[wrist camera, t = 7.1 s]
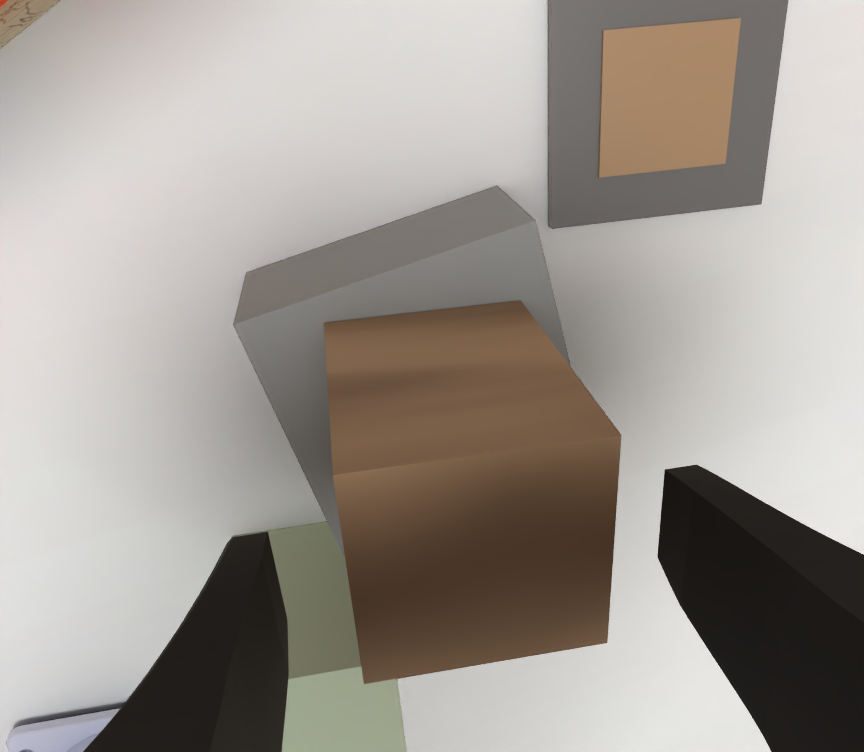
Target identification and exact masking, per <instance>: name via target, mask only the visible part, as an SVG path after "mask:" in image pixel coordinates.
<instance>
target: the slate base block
mask: <svg viewBox="0 0 864 752" xmlns="http://www.w3.org/2000/svg"><path fill="white" fill-rule="evenodd" d="M519 300H521V301H522V303H523V304H524V305H525V307H526V308H527V309H528V311H529V312H530V313H531V315H532V316H533V317H534V319H535V320H536V321H537V323H538V324H539V325H540V327H541V328H542V329H543V331H544V332H545V333H546V335H547V336H548V337H549V339H550V340H551V342H552V343H553V344H554V346H555V347H556V348H557V350H558V351H559V352H560V354H561V355H562V356H563V358H564V359H565V360H566V362H567V363H568V364H569V366H570V362H569V358H568V354H567V349H566V345H565V341H564V337H563V333H562V329H561V325H560V320H559V316H558V312H557V308H556V304H555V300H554V295H553V291H552V287H551V283H550V279H549V275H548V271H547V266H546V262H545V258H544V254H543V250H542V246H541V241H540V237H539V233H538V229H537V225H536V221H535V219H533V218H532V217H531V216H530V215H529V214H528V213H527V212H526V211H524V210H523V209H522V208H521V207H520V206H519V205H518V204H517V203H516V202H514V201H513V200H512V199H511V198H510V197H509V196H508V195H507V194H506V193H504V192H503V191H502V190H501V189H500V188H499V187H498V186H494V187H492V188H489V189H486V190H483V191H480V192H477V193H474V194H471V195H468V196H466V197H463V198H460V199H457V200H454V201H451V202H448V203H445V204H442V205H440V206H437V207H434V208H431V209H428V210H425V211H422V212H419V213H417V214H414V215H411V216H408V217H405V218H402V219H399V220H396V221H393V222H391V223H388V224H385V225H382V226H379V227H376V228H373V229H370V230H367V231H365V232H362V233H359V234H356V235H353V236H350V237H347V238H344V239H341V240H339V241H336V242H333V243H330V244H327V245H324V246H321V247H318V248H316V249H313V250H310V251H307V252H304V253H301V254H298V255H295V256H292V257H290V258H287V259H284V260H281V261H278V262H275V263H272V264H269V265H266V266H264V267H261V268H258V269H255V270H252V271H249V272H246V276H245V280H244V284H243V288H242V292H241V296H240V300H239V304H238V308H237V312H236V316H235V320H234V324H233V326H234V328H235V330H236V332H237V334H238V336H239V338H240V340H241V342H242V344H243V346H244V349H245V351H246V353H247V355H248V357H249V359H250V361H251V363H252V365H253V367H254V369H255V372H256V374H257V376H258V378H259V380H260V382H261V384H262V386H263V388H264V390H265V392H266V394H267V397H268V399H269V401H270V403H271V405H272V407H273V409H274V411H275V413H276V415H277V417H278V420H279V422H280V424H281V426H282V428H283V430H284V432H285V434H286V436H287V438H288V440H289V443H290V445H291V447H292V449H293V451H294V453H295V455H296V457H297V459H298V461H299V463H300V466H301V468H302V470H303V472H304V474H305V476H306V478H307V480H308V482H309V484H310V486H311V488H312V491H313V493H314V495H315V497H316V499H317V501H318V503H319V505H320V507H321V509H322V511H323V514H324V516H325V518H326V520H327V522H328V524H329V526H330V528H331V530H332V532H333V534H334V537H335V539H336V541H337V543H338V545H339V547H340V549H341V551H342V553H343V555H344V556H345V554H344V547H343V540H342V534H341V527H340V520H339V513H338V507H337V500H336V493H335V487H334V480H333V470H332V453H331V437H330V420H329V403H328V386H327V369H326V353H325V336H324V323H328V322H337V321H346V320H354V319H363V318H372V317H380V316H389V315H398V314H406V313H415V312H424V311H432V310H441V309H450V308H458V307H467V306H476V305H484V304H493V303H502V302H510V301H519ZM570 367H571V366H570Z"/></svg>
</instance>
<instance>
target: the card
mask: <svg viewBox="0 0 864 752" xmlns="http://www.w3.org/2000/svg"><path fill="white" fill-rule="evenodd" d="M787 6H788V0H548V149H549V227H550V228H552V229H555V228H563V227H572V226H580V225H589V224H597V223H606V222H614V221H623V220H631V219H640V218H648V217H657V216H665V215H674V214H682V213H691V212H699V211H708V210H716V209H725V208H733V207H742V206H750V205H759V204H761V203H762V195H763V188H764V180H765V173H766V165H767V157H768V150H769V142H770V135H771V127H772V120H773V112H774V104H775V97H776V89H777V82H778V74H779V66H780V59H781V51H782V44H783V36H784V28H785V21H786V13H787Z"/></svg>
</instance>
